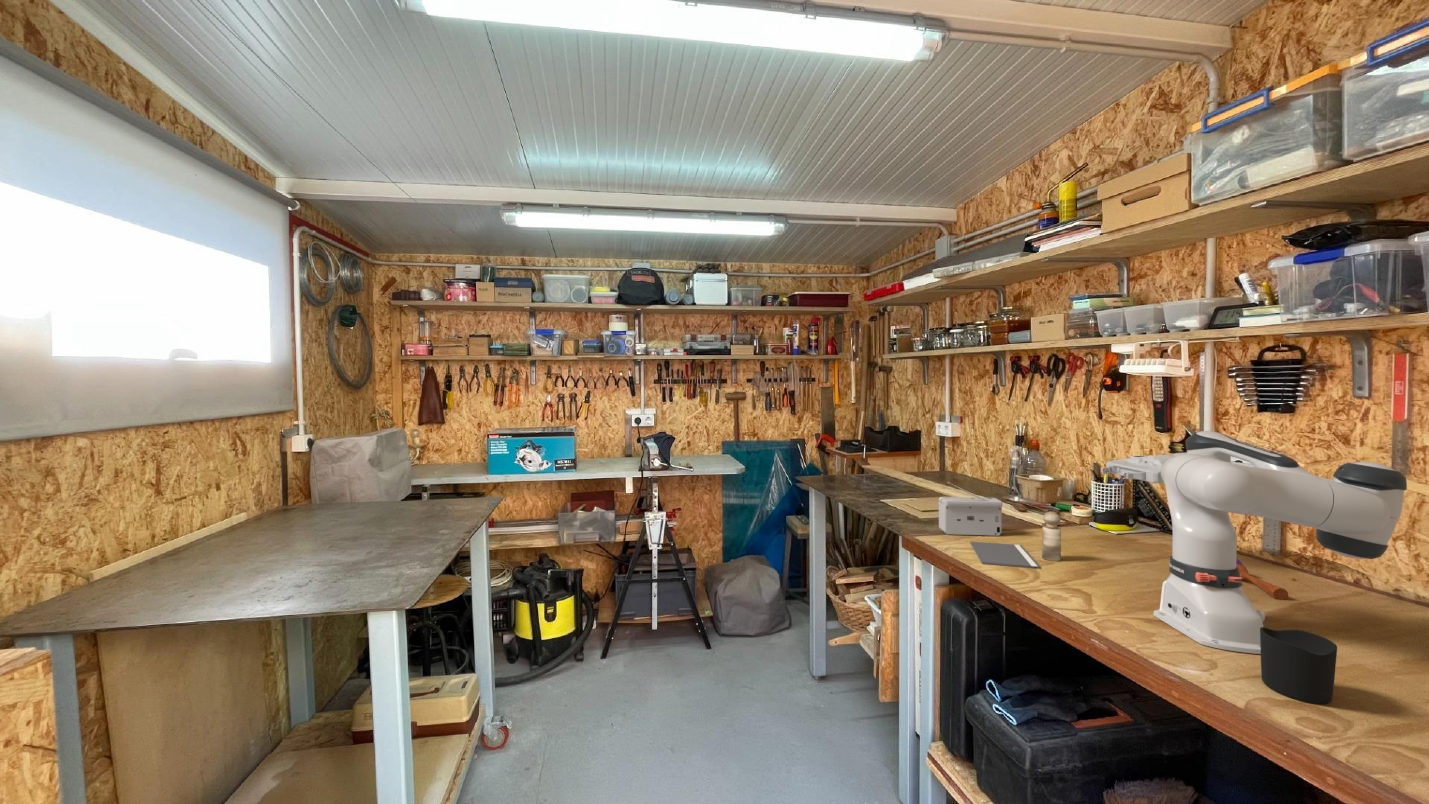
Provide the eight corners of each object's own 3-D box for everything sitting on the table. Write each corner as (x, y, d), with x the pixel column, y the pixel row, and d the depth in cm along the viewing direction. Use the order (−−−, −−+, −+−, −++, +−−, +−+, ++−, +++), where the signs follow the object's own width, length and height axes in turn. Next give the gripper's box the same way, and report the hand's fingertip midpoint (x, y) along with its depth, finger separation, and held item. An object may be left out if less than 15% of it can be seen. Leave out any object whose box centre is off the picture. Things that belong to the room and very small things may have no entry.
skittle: (1062, 562, 164) (1063, 514, 164) (1044, 560, 166) (1045, 513, 165) (1057, 556, 169) (1058, 510, 169) (1040, 555, 171) (1040, 509, 170)
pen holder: (1332, 713, 89) (1334, 656, 89) (1254, 687, 97) (1255, 635, 97) (1338, 693, 95) (1339, 639, 94) (1263, 671, 102) (1265, 621, 102)
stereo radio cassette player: (995, 531, 199) (995, 479, 198) (1004, 537, 191) (1004, 483, 190) (938, 529, 202) (938, 478, 201) (944, 535, 194) (944, 482, 193)
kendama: (1265, 584, 135) (1208, 553, 155) (1268, 606, 136) (1211, 572, 155) (1292, 582, 134) (1231, 551, 153) (1295, 604, 134) (1234, 570, 154)
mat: (1040, 568, 159) (1040, 566, 159) (982, 563, 164) (982, 561, 164) (1021, 546, 180) (1021, 545, 180) (970, 543, 185) (970, 541, 185)
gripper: (1187, 485, 156) (1141, 490, 156) (1132, 473, 177) (1091, 477, 177) (1185, 464, 156) (1140, 469, 156) (1131, 455, 177) (1090, 459, 177)
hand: (1114, 473), depth 167 cm, fingers open, 8 cm apart
